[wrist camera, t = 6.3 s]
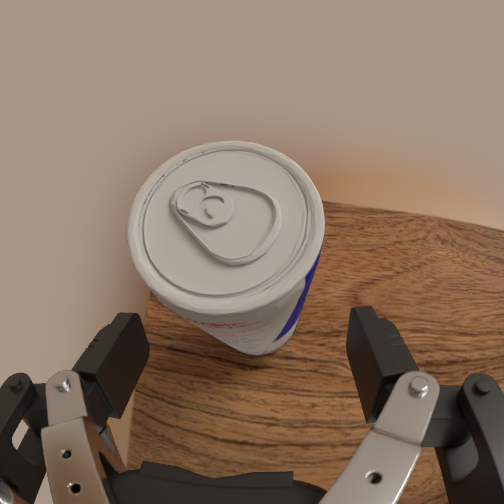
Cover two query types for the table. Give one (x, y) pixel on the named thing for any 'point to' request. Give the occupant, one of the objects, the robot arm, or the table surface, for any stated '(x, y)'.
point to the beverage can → (229, 241)
